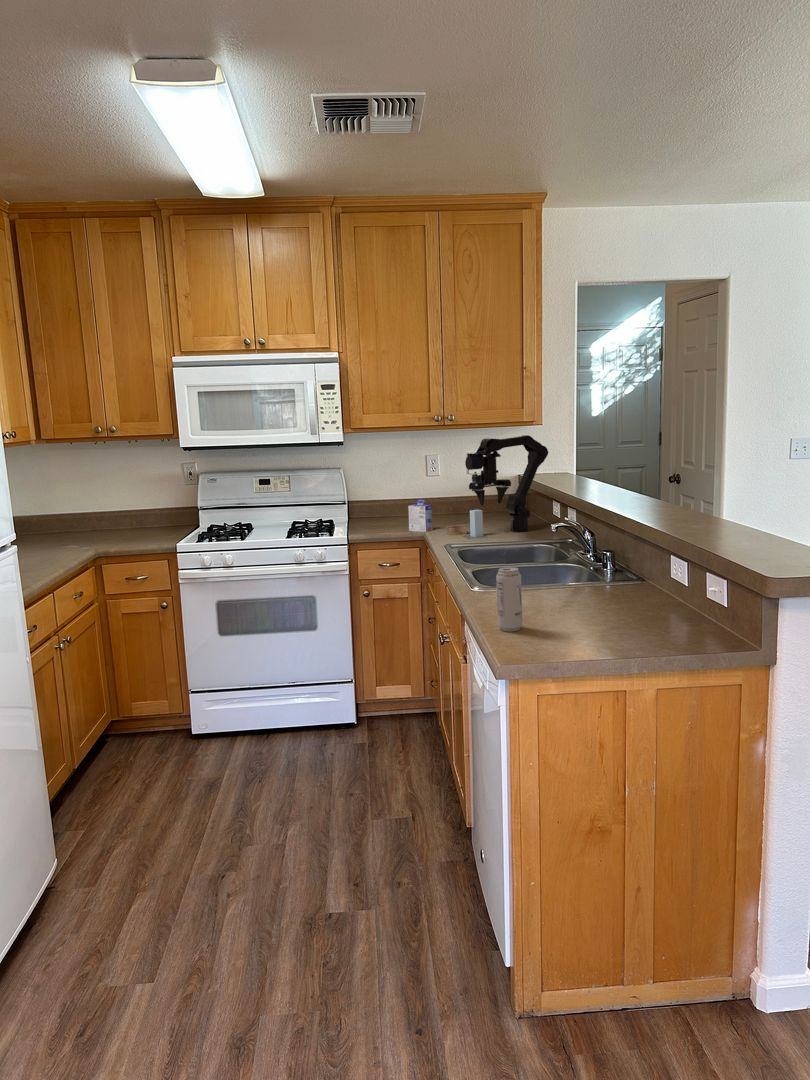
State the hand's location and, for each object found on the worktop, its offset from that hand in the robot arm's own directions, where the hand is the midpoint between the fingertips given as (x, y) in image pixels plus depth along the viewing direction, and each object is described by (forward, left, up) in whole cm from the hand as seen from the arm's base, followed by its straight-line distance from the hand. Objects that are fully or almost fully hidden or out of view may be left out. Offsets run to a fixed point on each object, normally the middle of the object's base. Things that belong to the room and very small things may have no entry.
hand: (490, 504), depth 322 cm
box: (+14, -6, -13) cm, 20 cm away
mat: (+9, +5, -13) cm, 17 cm away
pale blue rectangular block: (+8, +5, -12) cm, 16 cm away
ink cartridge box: (+26, -23, -13) cm, 37 cm away
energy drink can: (+41, +136, -13) cm, 142 cm away
